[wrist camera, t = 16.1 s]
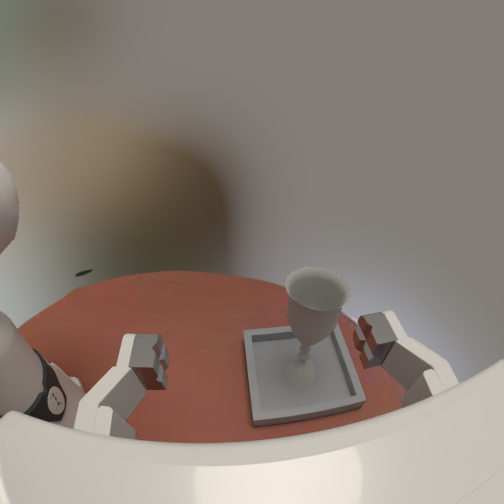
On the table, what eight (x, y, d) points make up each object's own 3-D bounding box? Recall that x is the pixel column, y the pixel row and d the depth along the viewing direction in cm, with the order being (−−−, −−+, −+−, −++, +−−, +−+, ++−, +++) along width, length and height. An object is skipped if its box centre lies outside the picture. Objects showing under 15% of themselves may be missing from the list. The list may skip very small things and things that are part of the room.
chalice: (267, 373, 39) (271, 288, 29) (293, 346, 43) (307, 259, 33) (305, 399, 35) (331, 321, 25) (330, 369, 39) (360, 284, 29)
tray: (253, 427, 33) (253, 420, 31) (244, 341, 46) (243, 330, 44) (360, 408, 34) (366, 400, 32) (333, 330, 47) (336, 319, 45)
